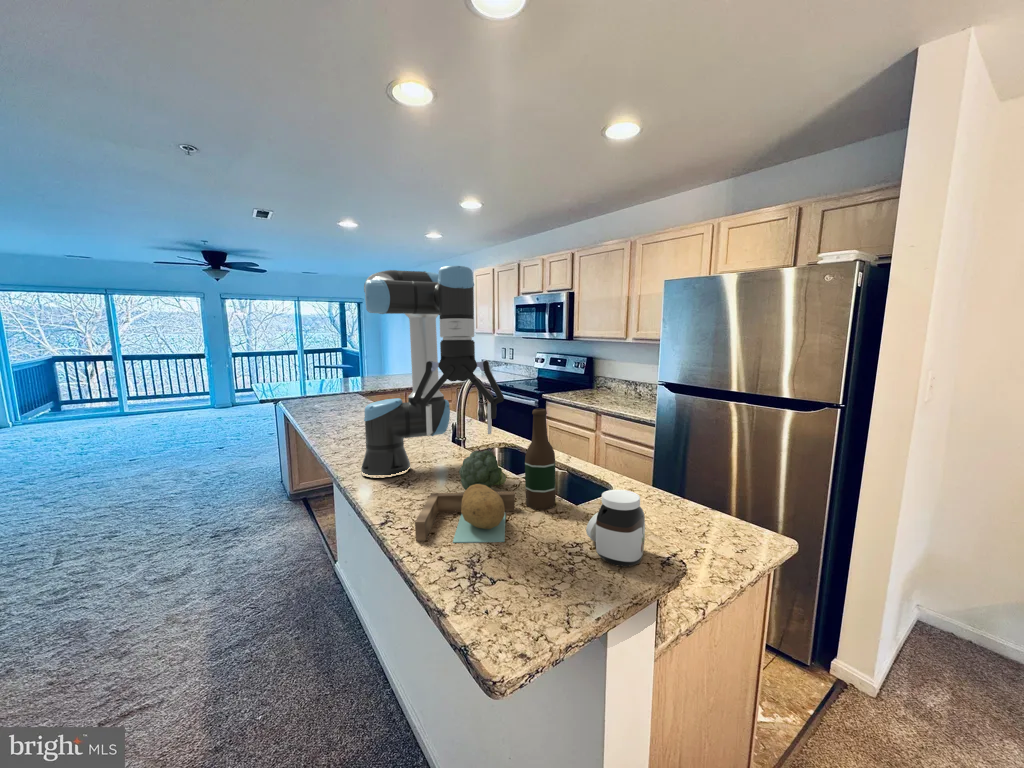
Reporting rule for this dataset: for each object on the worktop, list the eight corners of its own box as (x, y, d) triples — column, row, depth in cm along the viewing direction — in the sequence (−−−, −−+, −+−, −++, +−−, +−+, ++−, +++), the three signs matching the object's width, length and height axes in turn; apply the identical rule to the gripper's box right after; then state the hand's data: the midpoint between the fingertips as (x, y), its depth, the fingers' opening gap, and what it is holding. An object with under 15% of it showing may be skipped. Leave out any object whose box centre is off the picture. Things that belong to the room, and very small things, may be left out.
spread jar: (632, 576, 68) (632, 509, 67) (571, 557, 74) (571, 496, 73) (652, 546, 78) (652, 488, 77) (597, 532, 84) (597, 478, 83)
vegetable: (524, 483, 110) (489, 471, 99) (493, 511, 113) (455, 502, 103) (508, 450, 118) (473, 436, 108) (479, 477, 121) (443, 465, 111)
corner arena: (431, 508, 99) (431, 493, 98) (514, 507, 99) (514, 491, 98) (415, 540, 82) (414, 521, 82) (515, 538, 82) (515, 519, 82)
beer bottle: (519, 506, 99) (517, 410, 97) (535, 496, 105) (533, 406, 103) (546, 513, 95) (545, 412, 93) (561, 502, 101) (561, 408, 99)
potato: (468, 543, 80) (467, 505, 79) (455, 516, 93) (454, 483, 93) (514, 535, 83) (514, 498, 82) (496, 510, 96) (495, 478, 96)
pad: (461, 513, 95) (461, 512, 95) (505, 512, 95) (505, 511, 95) (452, 542, 81) (452, 542, 81) (504, 541, 81) (504, 540, 81)
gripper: (395, 339, 84) (400, 438, 87) (514, 338, 85) (515, 436, 87) (404, 339, 92) (408, 430, 94) (513, 338, 92) (514, 428, 94)
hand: (459, 433), depth 91 cm, fingers open, 13 cm apart
